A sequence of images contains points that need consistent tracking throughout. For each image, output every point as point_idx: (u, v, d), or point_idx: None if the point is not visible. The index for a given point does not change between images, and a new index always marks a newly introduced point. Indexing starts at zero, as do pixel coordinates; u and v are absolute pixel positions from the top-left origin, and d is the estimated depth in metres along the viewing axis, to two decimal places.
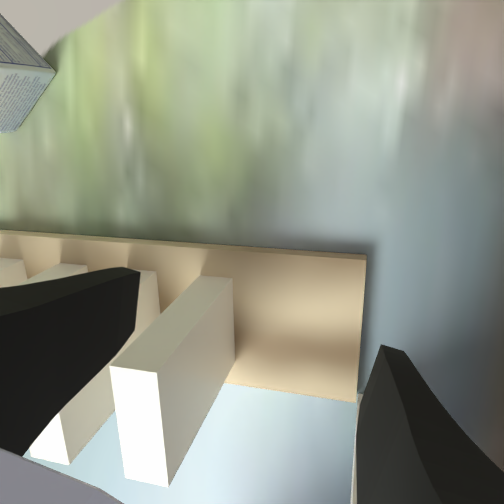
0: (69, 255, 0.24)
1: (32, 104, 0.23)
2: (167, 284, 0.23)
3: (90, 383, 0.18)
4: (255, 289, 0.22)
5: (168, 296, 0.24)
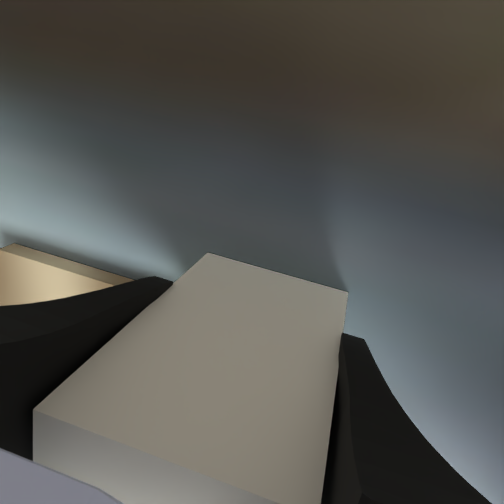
0: None
1: None
2: None
3: None
4: None
5: None
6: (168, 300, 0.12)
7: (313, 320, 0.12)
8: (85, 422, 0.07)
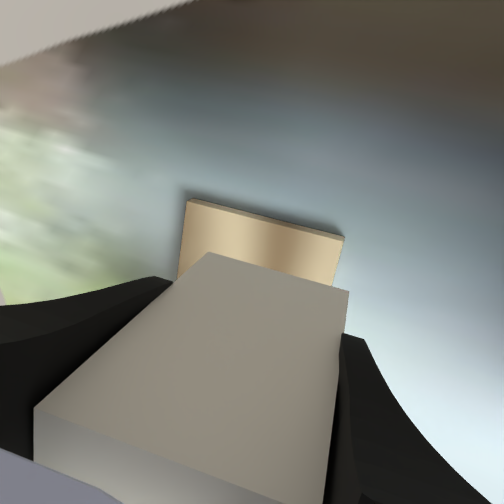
0: None
1: None
2: None
3: None
4: None
5: None
6: (169, 299, 0.12)
7: (315, 319, 0.12)
8: (86, 421, 0.07)
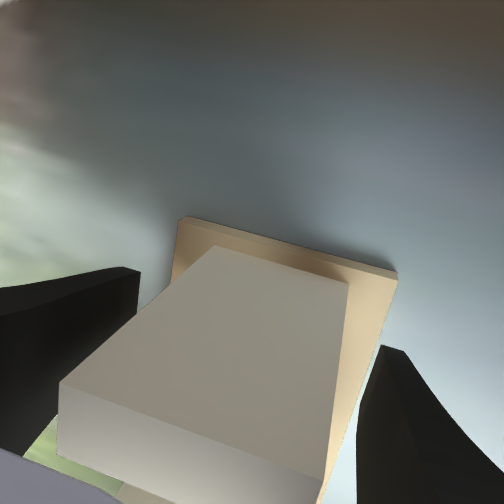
0: None
1: None
2: None
3: None
4: None
5: None
6: (178, 288, 0.12)
7: (317, 309, 0.13)
8: (108, 395, 0.08)
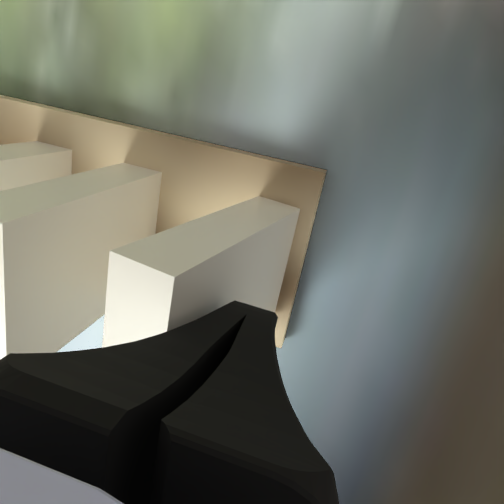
0: None
1: None
2: (83, 168, 0.19)
3: None
4: (187, 190, 0.18)
5: None
6: (259, 239, 0.13)
7: None
8: (172, 312, 0.10)
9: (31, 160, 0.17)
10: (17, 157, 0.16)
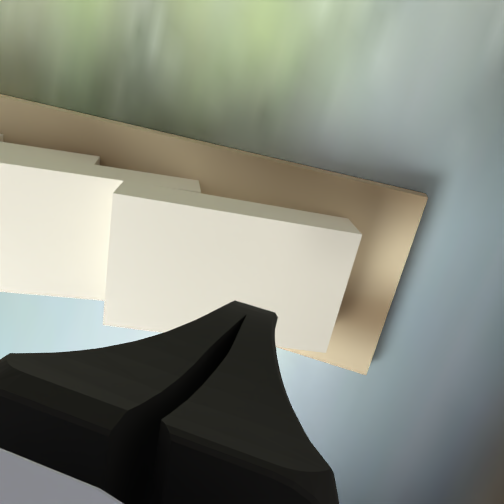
0: (42, 130, 0.19)
1: None
2: None
3: None
4: None
5: None
6: (252, 225, 0.15)
7: None
8: (114, 221, 0.14)
9: None
10: None
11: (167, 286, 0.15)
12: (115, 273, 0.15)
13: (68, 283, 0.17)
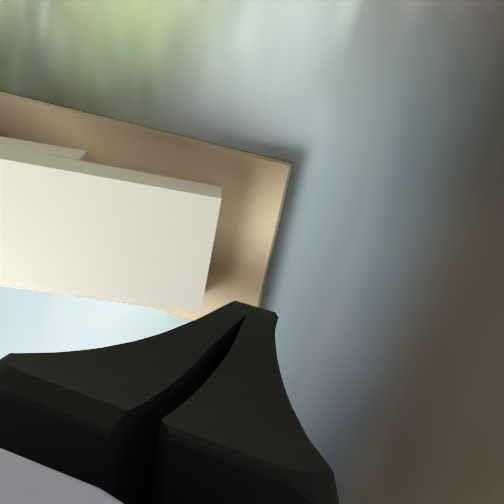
0: None
1: None
2: None
3: None
4: None
5: None
6: (115, 187, 0.16)
7: (139, 287, 0.17)
8: None
9: None
10: None
11: (39, 246, 0.16)
12: None
13: None
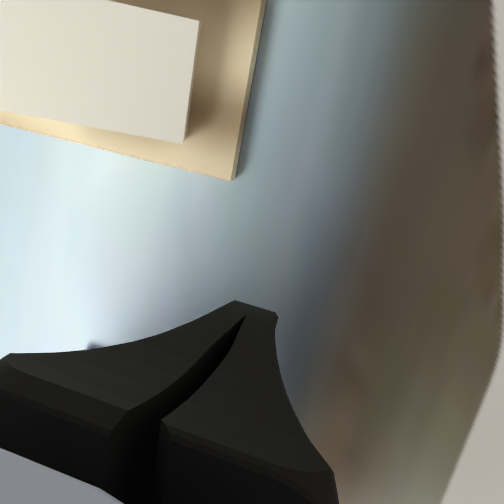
0: None
1: None
2: None
3: None
4: None
5: None
6: (102, 7, 0.17)
7: (125, 113, 0.19)
8: None
9: None
10: None
11: (34, 68, 0.18)
12: None
13: None
